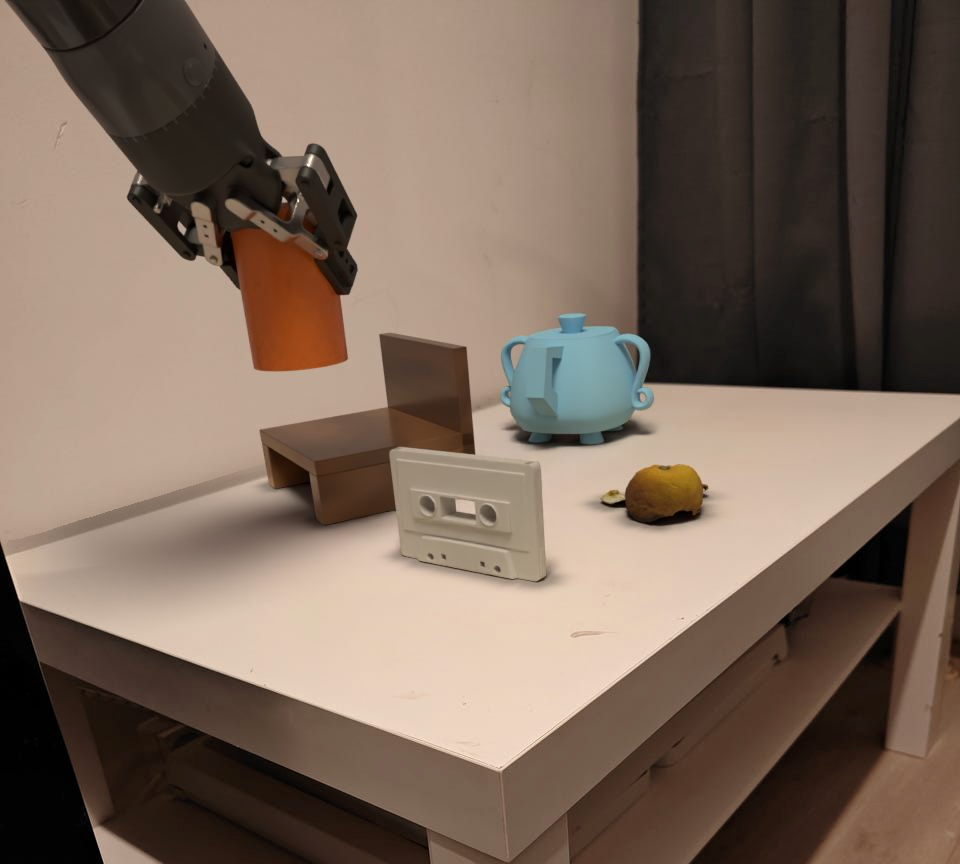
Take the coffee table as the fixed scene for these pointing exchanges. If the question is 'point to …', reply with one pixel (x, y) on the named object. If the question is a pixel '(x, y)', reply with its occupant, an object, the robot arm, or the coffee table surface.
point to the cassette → (463, 536)
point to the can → (287, 303)
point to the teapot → (575, 380)
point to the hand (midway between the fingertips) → (302, 286)
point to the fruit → (661, 492)
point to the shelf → (377, 431)
